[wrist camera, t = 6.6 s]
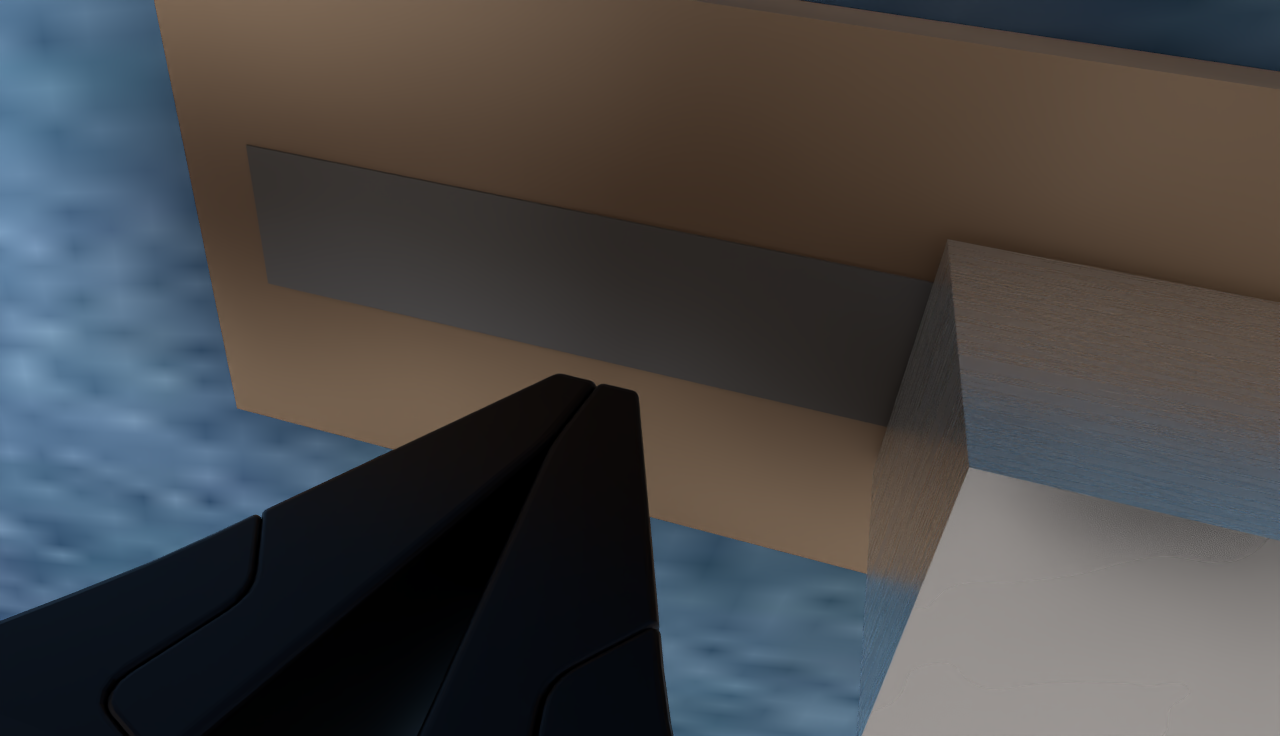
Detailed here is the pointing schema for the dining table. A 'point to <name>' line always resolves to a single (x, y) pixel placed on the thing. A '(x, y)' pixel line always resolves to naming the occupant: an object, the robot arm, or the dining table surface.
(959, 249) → the bolt
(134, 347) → the dining table surface
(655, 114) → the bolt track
